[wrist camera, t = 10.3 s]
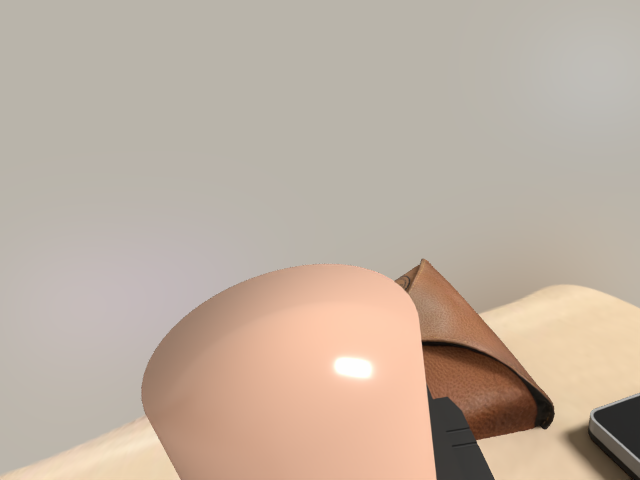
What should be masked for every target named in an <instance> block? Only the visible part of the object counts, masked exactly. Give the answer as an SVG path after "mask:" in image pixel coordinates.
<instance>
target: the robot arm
mask: <svg viewBox="0 0 640 480" xmlns="http://www.w3.org/2000/svg"><path fill="white" fill-rule="evenodd" d="M426 387H427V397H428V406H429V415H430V424H431V433H432V442H433V451H434V460H435V469H436V479H437V480H495V479H494V477H493V475H492V473H491V471H490V469H489V467H488V464H487V462H486V460H485V458H484V456H483V454H482V452H481V450H480V448H479V446H478V445H477V441H476V439H475V437H474V435H473V433H472V431H471V430H470V427H469V425H468V423H467V420H466V418H465V416H464V414H463V412H462V410H461V409H460V408H459V407H458V406H457V405H456V404H455V403H454V402H453V401H452V400H451V399H450V398H449V397H442V398H436V399H433V398H432V395H431V393H430V390H429V388H428V385H427V383H426Z"/></svg>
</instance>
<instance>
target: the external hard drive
mask: <svg viewBox="0 0 640 480" xmlns="http://www.w3.org/2000/svg"><path fill="white" fill-rule="evenodd" d="M588 432H589V435H590V437H591V439H592V440H593V441H594V442H595V443H596V444H597V445H598V446H599V447H600V448H601V449H602V450H603V451H604V452H605V453H606V454H607V455H608V456H609V457H610V458H612V459H613V460H614V461H615V462H616V463H617V464H618V465H619V466H620V467H621V468H622V469H623V470H624V471H625V472H626V473H627V474H628V475H629V476H630V477H631V478H632V479H633V480H640V393H638V394H635V395H632V396H629V397H627V398H624V399H621V400H618V401H615V402H613V403H610V404H607V405H604V406H601V407H598V408H596V409H593V410H592V411H591V413H590V420H589V427H588Z"/></svg>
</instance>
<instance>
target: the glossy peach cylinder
mask: <svg viewBox="0 0 640 480" xmlns="http://www.w3.org/2000/svg"><path fill="white" fill-rule="evenodd" d="M141 388H142V403H143V407H144V411H145V414H146V416H147V417H148V419H149V421H150V423H151V425H152V427H153V429H154V430H155V432H156V434H157V436H158V438H159V440H160V442H161V444H162V445H163V447H164V449H165V451H166V453H167V455H168V457H169V458H170V460H171V462H172V464H173V466H174V468H175V470H176V472H177V473H178V475H179V477H180V479H181V480H437V479H436V469H435V460H434V451H433V442H432V433H431V424H430V415H429V406H428V397H427V387H426V378H425V369H424V360H423V351H422V342H421V333H420V324H419V316H418V312H417V310H416V307H415V304H414V302H413V301H412V299H411V298H410V296H409V295H408V293H407V292H406V291H405V290H404V289H403V288H402V287H401V286H400V285H398V284H397V283H396V282H394V281H393V280H391V279H390V278H388V277H386V276H384V275H382V274H380V273H377V272H375V271H372V270H368V269H365V268H361V267H356V266H350V265H342V264H313V265H303V266H296V267H290V268H286V269H282V270H277V271H273V272H269V273H266V274H263V275H260V276H257V277H254V278H251V279H249V280H246V281H244V282H241V283H239V284H237V285H234V286H233V287H230V288H228V289H226V290H224V291H222V292H220V293H219V294H217V295H215V296H213V297H212V298H210V299H208V300H207V301H205V302H204V303H202V304H201V305H199V306H198V307H197V308H195V309H194V310H192V311H191V312H190V313H189V314H188V315H186V316H185V317H184V318H183V319H182V320H181V321H180V322H179V323H177V324H176V326H174V327H173V328H172V329H171V330H170V332H169V333H168V334H167V335H166V336H165V337H164V338H163V340H162V341H161V343H160V344H159V346H158V347H157V348H156V349H155V351H154V353H153V355H152V357H151V358H150V360H149V362H148V365H147V368H146V370H145V373H144V377H143V382H142V387H141Z"/></svg>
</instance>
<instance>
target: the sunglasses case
mask: <svg viewBox="0 0 640 480" xmlns="http://www.w3.org/2000/svg"><path fill="white" fill-rule="evenodd" d="M394 282H396V283H397V284H398V285H400V286H401V287H402V288H403V289H404V290H405V291H406V292H407V293H408V295H409V296H410V298H411V299H412V301H413V302H414V304H415V307H416V310H417V312H418V316H419V324H420V333H421V342H422V351H423V360H424V369H425V378H426V383H427V385H428V388H429V390H430V393H431V395H432V398H433V399H436V398H442V397H449V398H450V399H451V400H452V401H453V402H454V403H455V404H456V405H457V406H458V407H459V408H460V409H461V410H462V412H463V414H464V416H465V418H466V420H467V423H468V425H469V427H470V430H471V431H472V433H473V435H474V437H475V439H476V440H479V439H483V438H490V437H496V436H500V435H505V434H509V433H514V432H518V431H525V430H529V429H532V428H534V427H537V426H541V427H542V428H543V429H547V428H548V427H549V426H550V424H551V423H552V422H553V418H554V414H555V413H554V406H553V403H552V401H551V400H550V398H549V397H548V396H547V395H546V393H545V392H544V391H543V390H542V389H541V388H540V387H539V386H538V385H537V384H536V383H535V382H534V380H533V379H532V378H531V376H530V375H529V374H528V373H527V371H526V370H525V369H524V368H523V366H522V365H521V364H520V363H519V361H518V360H517V359H516V358H515V357H514V355H513V354H512V353H511V352H510V351H509V349H508V348H507V347H506V346H505V345H504V343H503V342H502V341H501V340H500V339H499V338H498V336H497V335H496V334H495V333H494V332H493V331H492V330H491V329H490V328H489V326H488V325H487V324H486V323H485V322H484V321H483V320H482V318H481V317H480V316H479V315H478V314H477V313H476V312H475V311H474V309H473V308H472V307H471V306H470V305H469V304H468V303H467V302H466V301H465V299H464V298H463V297H462V296H461V295H460V294H459V293H458V292H457V291H456V290H455V289H454V288H453V286H452V285H451V284H450V283H449V282H448V281H447V280H446V279H445V278H444V277H443V276H442V275H441V274H440V273H439V272H438V271H437V270H435V269H434V268H433V266H431V264H430V263H429V262H428V261H427V260H425V259H422V260H421V263H420V265H418V266H416V267H415V268H413V269H412V270H410V271H409V272H407V273H406V274H404V275H403V276H401V277H400V278H398V279H397V280H395V281H394Z"/></svg>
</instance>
